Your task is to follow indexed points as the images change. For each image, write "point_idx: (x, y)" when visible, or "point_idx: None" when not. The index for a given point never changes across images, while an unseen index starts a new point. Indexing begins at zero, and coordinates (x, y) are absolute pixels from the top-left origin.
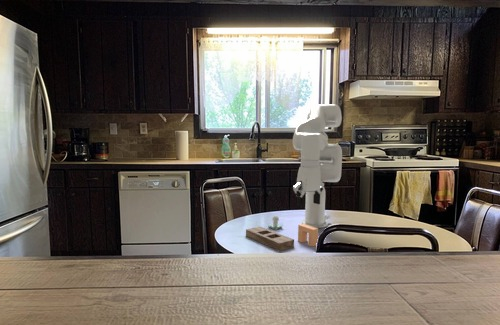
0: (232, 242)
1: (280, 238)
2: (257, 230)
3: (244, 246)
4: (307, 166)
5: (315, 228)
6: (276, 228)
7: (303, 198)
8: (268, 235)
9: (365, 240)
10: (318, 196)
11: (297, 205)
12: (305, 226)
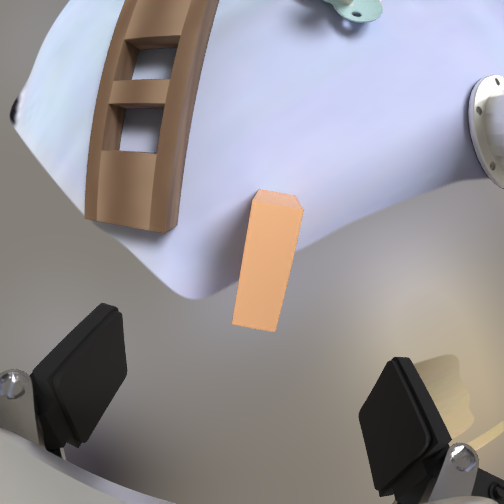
0: (63, 43)
1: (128, 175)
2: (149, 18)
3: (57, 97)
4: None
5: (265, 320)
6: (338, 7)
7: (80, 436)
8: (124, 103)
9: (432, 369)
10: (377, 477)
11: (103, 309)
12: (256, 256)
